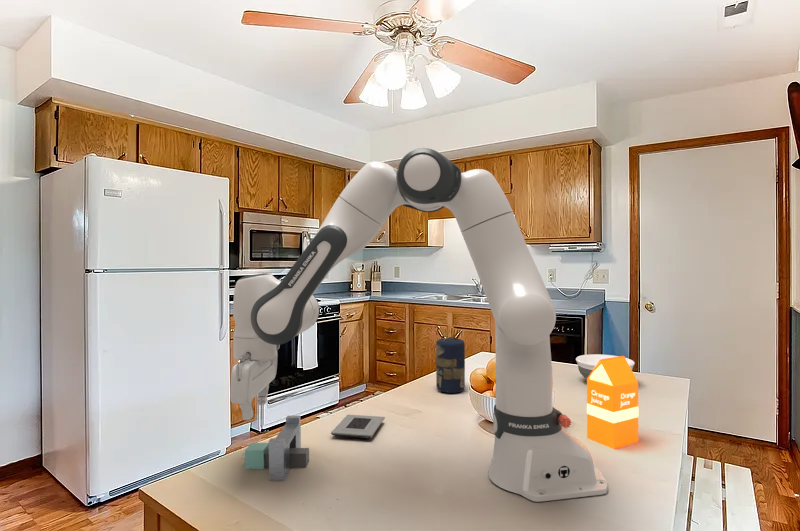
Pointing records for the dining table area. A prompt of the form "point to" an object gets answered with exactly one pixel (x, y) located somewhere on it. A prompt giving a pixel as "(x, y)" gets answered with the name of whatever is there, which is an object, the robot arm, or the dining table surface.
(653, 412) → the dining table surface
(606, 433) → the orange juice
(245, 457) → the plug
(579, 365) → the bowl
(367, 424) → the electrical outlet
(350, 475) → the dining table surface
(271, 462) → the grey piece
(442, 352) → the canister
